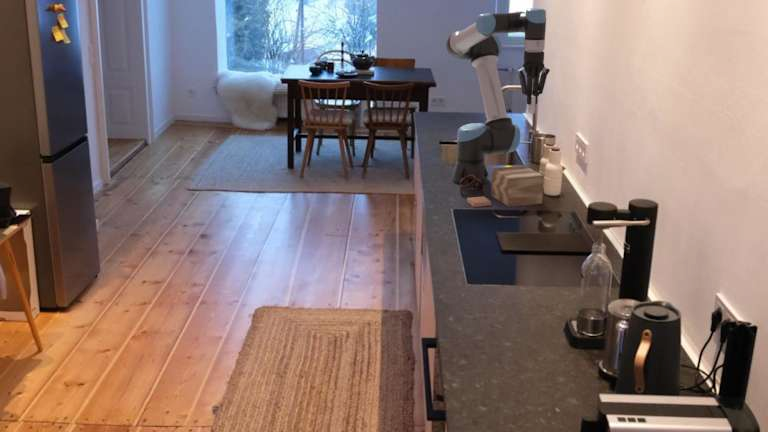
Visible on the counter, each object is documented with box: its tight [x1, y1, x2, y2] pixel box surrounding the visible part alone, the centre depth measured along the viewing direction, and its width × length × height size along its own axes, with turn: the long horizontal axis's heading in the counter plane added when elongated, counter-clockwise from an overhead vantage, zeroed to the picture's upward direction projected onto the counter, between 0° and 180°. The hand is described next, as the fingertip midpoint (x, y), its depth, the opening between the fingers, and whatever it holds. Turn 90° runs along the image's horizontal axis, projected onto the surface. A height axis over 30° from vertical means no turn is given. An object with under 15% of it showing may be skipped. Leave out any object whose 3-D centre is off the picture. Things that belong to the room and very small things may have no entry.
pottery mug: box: [459, 175, 486, 195], centre depth 342 cm, size 12×10×8 cm
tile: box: [466, 195, 492, 208], centre depth 328 cm, size 7×7×2 cm
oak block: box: [490, 164, 544, 207], centre depth 331 cm, size 16×14×11 cm
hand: (531, 112), depth 330 cm, fingers closed
